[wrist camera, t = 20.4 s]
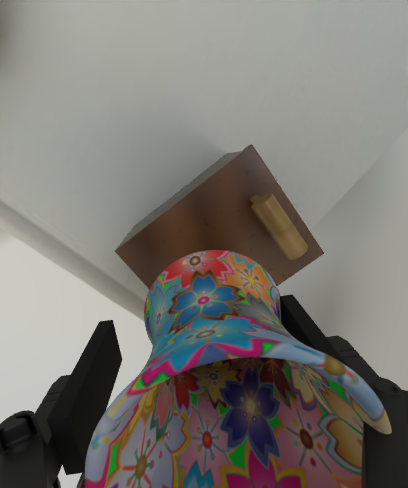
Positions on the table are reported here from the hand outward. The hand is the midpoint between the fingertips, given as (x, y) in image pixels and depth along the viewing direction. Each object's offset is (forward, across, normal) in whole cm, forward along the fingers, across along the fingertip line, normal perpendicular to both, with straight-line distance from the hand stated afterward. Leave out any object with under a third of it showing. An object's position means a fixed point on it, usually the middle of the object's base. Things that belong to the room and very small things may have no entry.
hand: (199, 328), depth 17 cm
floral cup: (+2, 0, 0) cm, 2 cm away
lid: (+10, +3, +1) cm, 10 cm away
